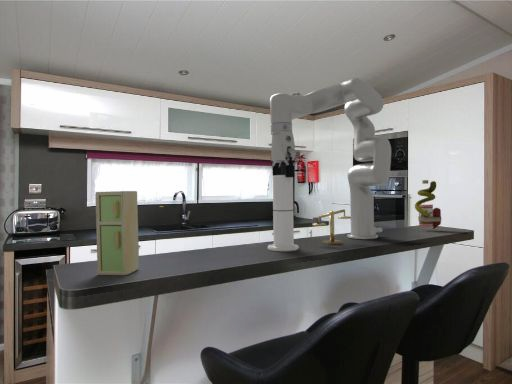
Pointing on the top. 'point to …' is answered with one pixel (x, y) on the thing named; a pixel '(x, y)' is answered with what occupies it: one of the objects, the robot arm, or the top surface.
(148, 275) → the top surface
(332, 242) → the balance
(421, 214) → the snake in a can
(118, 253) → the toy refrigerator
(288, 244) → the cylindrical container
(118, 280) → the top surface
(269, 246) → the dish
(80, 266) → the top surface
